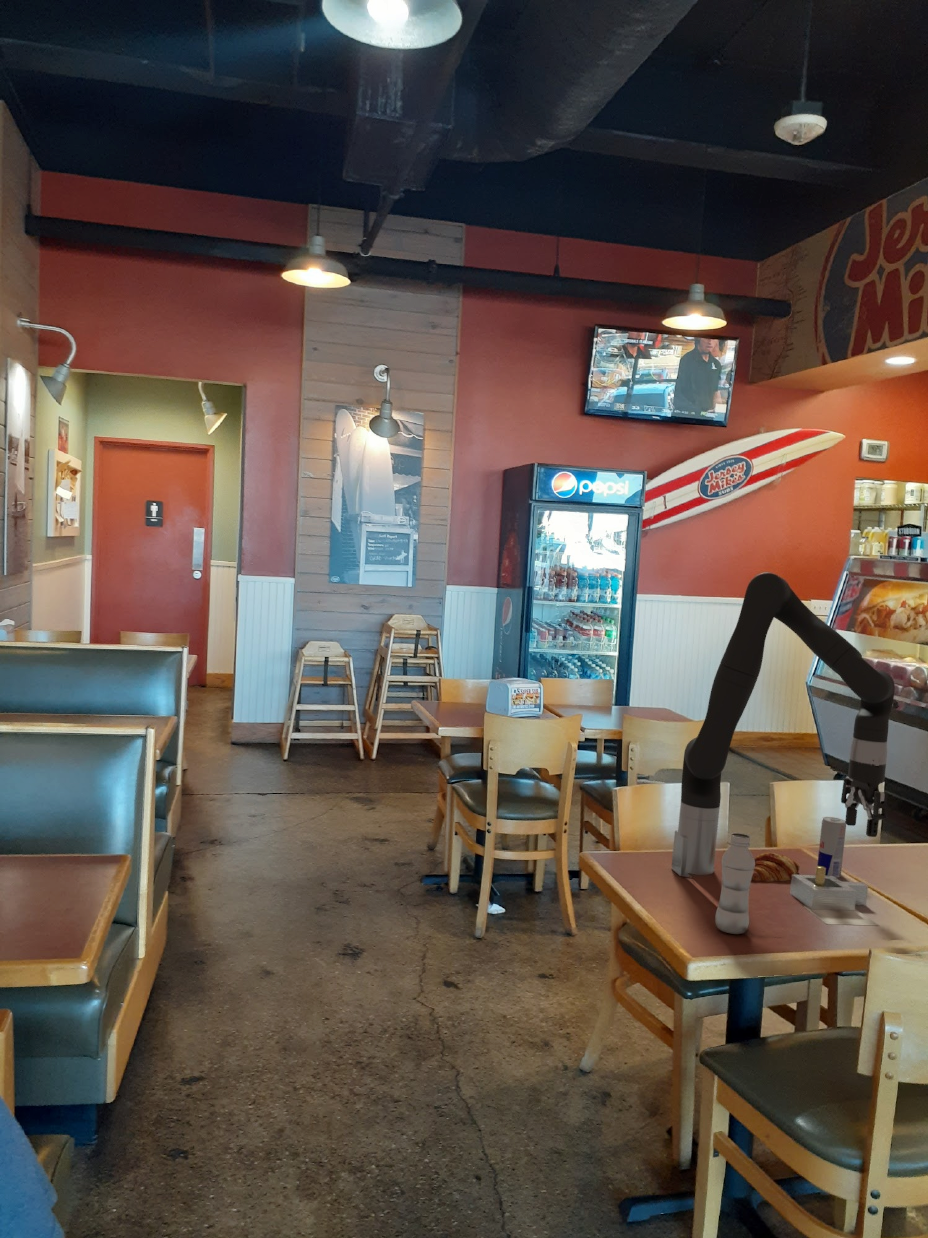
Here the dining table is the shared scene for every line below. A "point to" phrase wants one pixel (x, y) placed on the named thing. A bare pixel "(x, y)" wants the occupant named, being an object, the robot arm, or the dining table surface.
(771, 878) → the croissant
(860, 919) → the board
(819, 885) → the post
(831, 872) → the beverage can
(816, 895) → the grey frame with handle
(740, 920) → the plastic bottle
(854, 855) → the dining table surface
